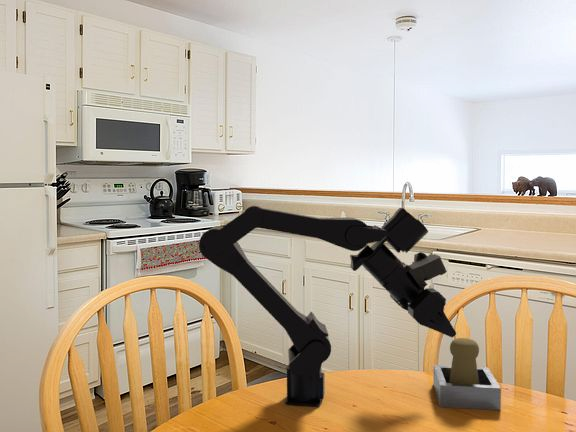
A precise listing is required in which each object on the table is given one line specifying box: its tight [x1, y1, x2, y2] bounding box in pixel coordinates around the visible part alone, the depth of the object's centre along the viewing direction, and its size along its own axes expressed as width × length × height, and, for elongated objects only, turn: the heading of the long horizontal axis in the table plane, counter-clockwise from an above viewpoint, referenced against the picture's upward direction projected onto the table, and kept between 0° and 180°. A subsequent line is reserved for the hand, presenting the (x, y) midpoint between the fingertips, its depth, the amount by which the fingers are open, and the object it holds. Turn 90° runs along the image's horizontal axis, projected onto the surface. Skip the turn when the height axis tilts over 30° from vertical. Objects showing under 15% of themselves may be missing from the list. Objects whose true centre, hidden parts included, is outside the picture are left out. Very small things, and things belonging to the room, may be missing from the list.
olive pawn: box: [449, 337, 480, 385], centre depth 97 cm, size 6×6×11 cm
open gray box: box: [433, 364, 502, 411], centre depth 97 cm, size 10×10×4 cm
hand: (445, 328), depth 97 cm, fingers open, 9 cm apart
